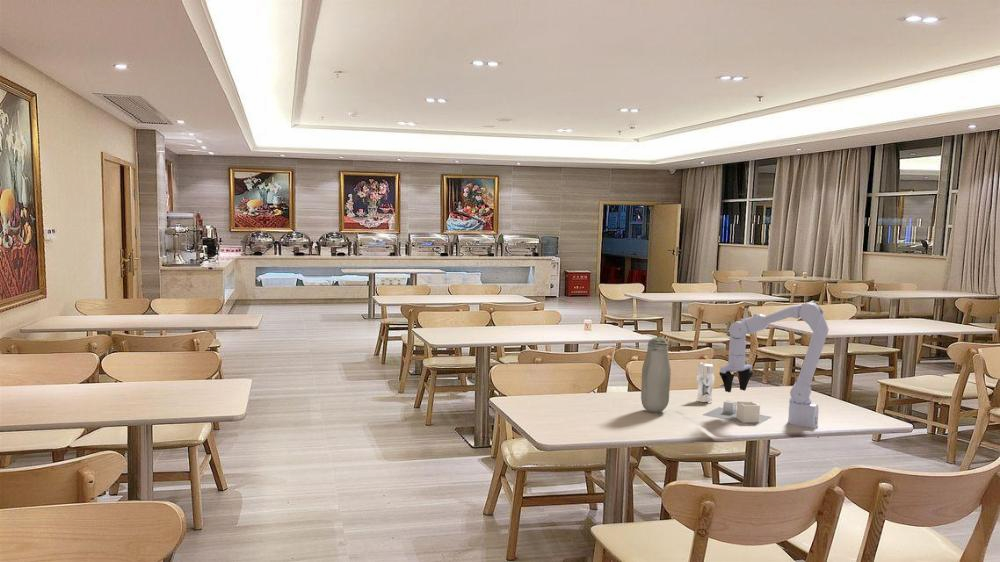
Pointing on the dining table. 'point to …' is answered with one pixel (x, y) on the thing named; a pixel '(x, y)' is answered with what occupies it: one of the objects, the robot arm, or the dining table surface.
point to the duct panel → (733, 416)
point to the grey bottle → (656, 376)
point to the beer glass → (705, 381)
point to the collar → (748, 411)
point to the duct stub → (729, 407)
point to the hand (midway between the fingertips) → (735, 390)
